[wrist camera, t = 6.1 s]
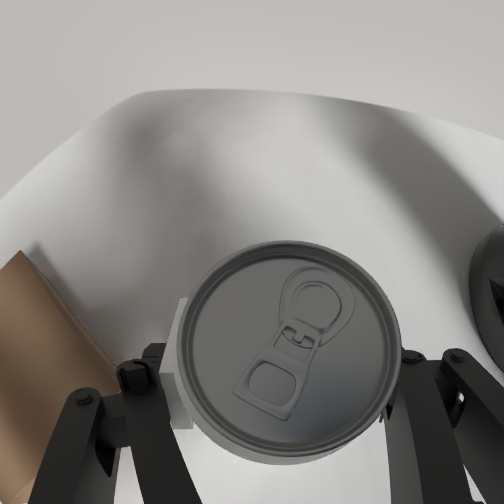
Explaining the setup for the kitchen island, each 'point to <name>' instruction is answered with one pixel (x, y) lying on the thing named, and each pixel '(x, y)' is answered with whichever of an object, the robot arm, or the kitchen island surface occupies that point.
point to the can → (286, 352)
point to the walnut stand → (38, 371)
